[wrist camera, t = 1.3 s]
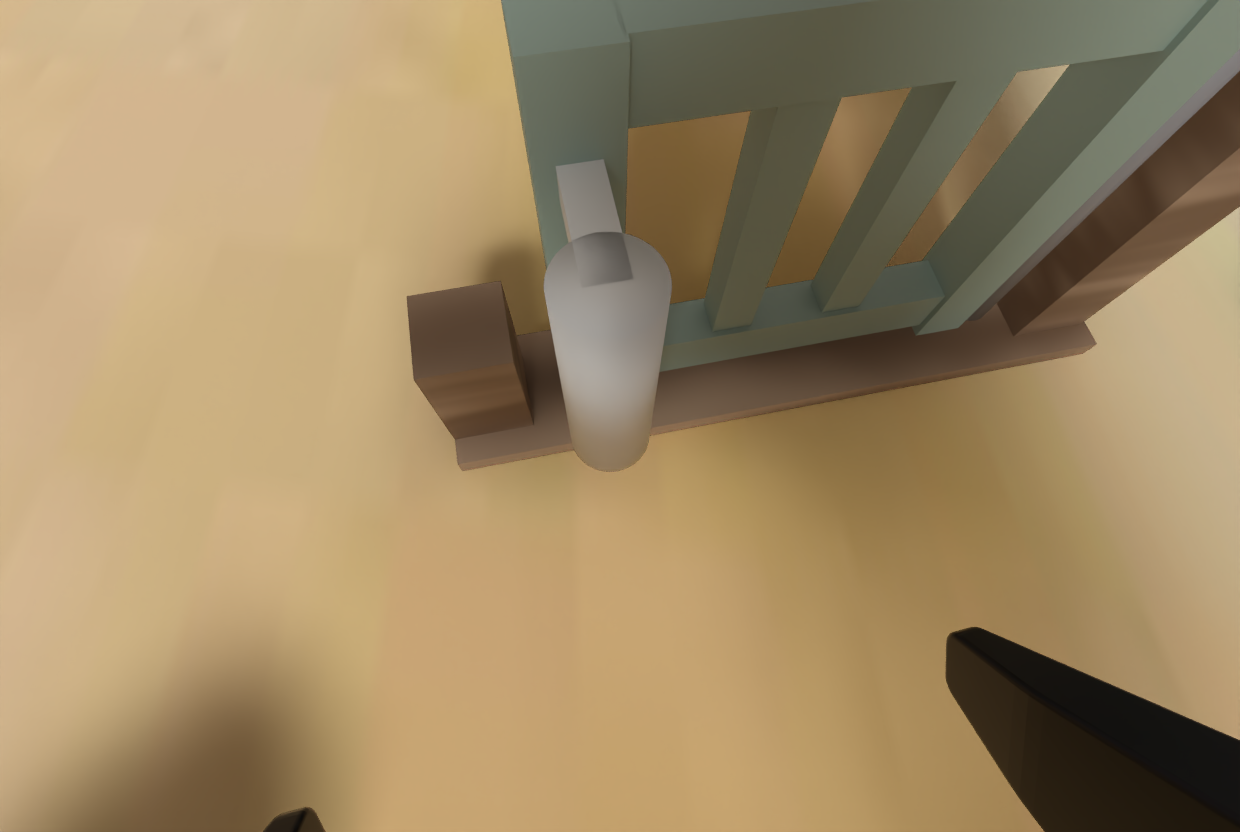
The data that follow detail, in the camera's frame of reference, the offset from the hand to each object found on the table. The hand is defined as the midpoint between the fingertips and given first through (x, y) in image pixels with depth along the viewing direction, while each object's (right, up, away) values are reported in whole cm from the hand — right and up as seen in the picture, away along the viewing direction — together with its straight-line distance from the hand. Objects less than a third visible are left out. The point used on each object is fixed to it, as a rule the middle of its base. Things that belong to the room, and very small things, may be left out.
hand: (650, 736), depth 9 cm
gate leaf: (+6, +6, +15) cm, 17 cm away
